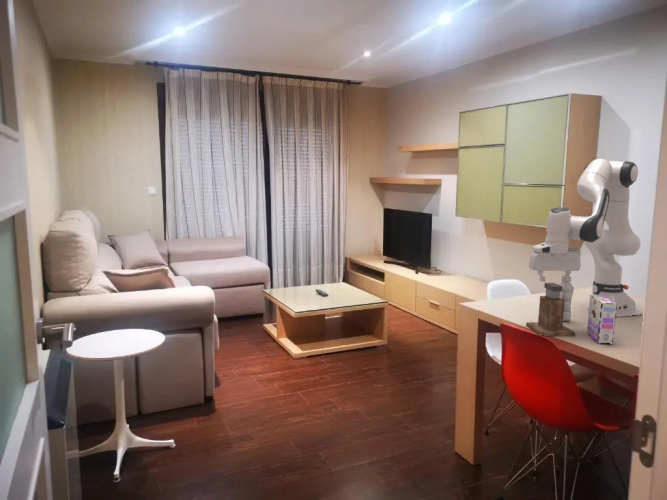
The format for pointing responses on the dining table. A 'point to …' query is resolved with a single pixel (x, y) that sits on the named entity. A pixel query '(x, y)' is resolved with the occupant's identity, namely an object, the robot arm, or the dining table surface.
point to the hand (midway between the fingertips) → (553, 281)
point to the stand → (550, 318)
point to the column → (552, 290)
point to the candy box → (601, 318)
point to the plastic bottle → (566, 297)
